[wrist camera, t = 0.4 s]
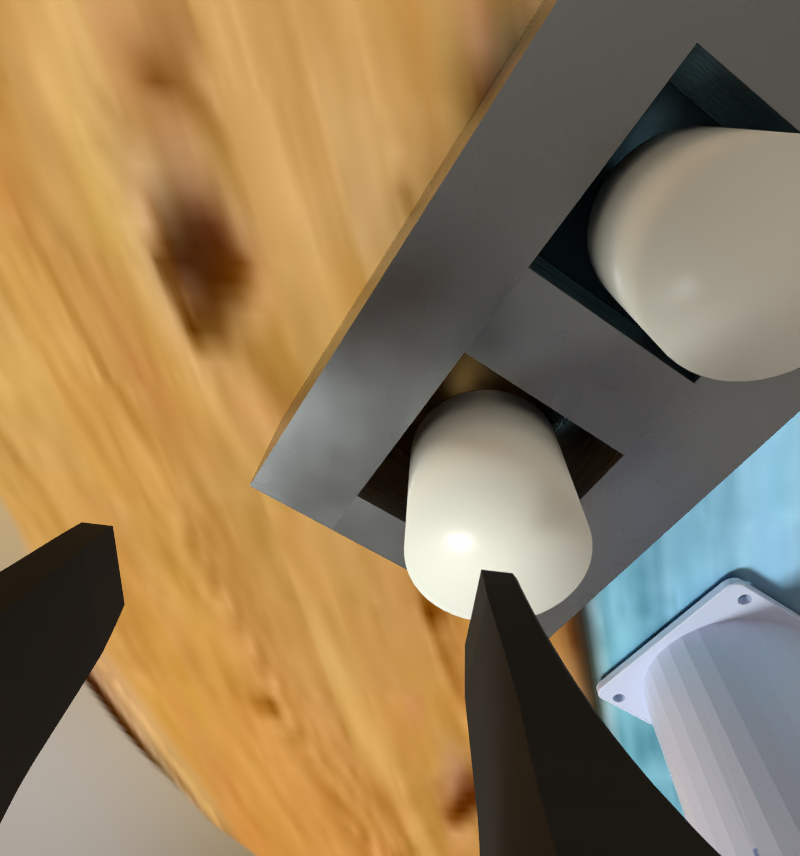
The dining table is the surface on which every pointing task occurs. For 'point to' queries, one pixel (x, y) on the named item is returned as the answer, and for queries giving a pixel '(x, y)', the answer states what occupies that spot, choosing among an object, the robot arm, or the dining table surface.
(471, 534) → the knob
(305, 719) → the dining table surface
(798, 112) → the knob mount
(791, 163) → the knob middle
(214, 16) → the dining table surface
